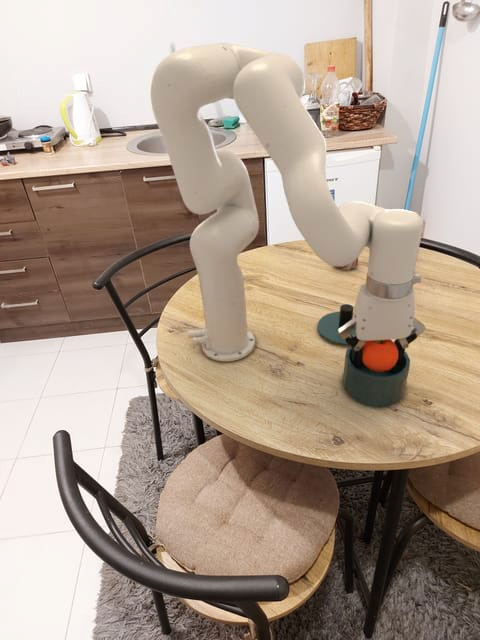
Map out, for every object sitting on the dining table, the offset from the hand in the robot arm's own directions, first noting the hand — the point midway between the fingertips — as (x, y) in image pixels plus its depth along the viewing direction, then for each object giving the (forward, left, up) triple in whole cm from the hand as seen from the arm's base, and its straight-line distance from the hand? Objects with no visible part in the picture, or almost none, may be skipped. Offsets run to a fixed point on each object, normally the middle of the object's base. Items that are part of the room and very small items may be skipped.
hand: (376, 360), depth 84 cm
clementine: (0, 0, -1) cm, 1 cm away
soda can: (+5, +51, -7) cm, 52 cm away
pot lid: (-2, +19, -6) cm, 20 cm away
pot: (0, 0, -7) cm, 7 cm away
